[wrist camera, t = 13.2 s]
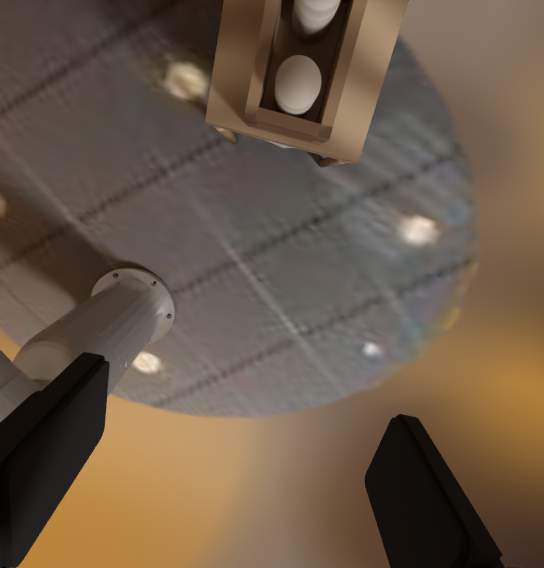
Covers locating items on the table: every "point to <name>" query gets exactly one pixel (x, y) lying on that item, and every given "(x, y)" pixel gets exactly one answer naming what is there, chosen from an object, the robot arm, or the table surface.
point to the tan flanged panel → (356, 93)
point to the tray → (320, 55)
